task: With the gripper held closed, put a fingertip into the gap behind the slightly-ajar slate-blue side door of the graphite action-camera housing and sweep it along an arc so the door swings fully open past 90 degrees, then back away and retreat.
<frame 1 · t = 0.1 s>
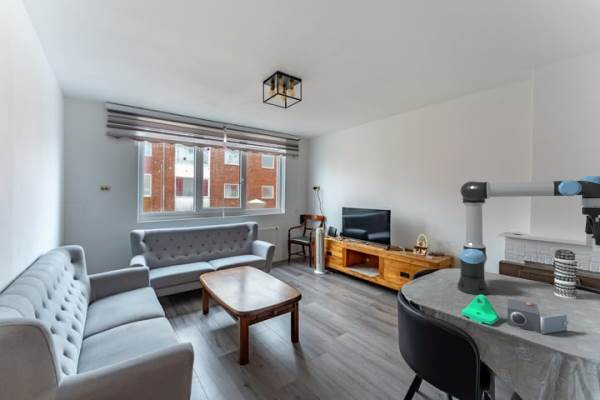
hand: (593, 249, 123), 28 cm above the table, fingers open, 13 cm apart
housing: (522, 322, 108), on the table
decorative candle: (565, 296, 135), on the table
side door: (554, 323, 100), point 4 cm above the table, hinge at 40.0°
camera mount: (479, 319, 113), on the table
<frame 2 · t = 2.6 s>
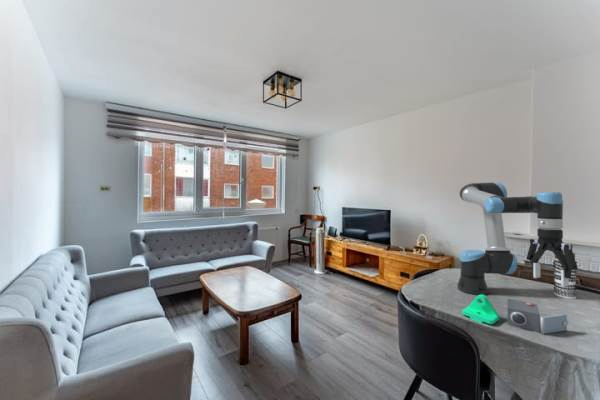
hand: (550, 281, 104), 20 cm above the table, fingers open, 9 cm apart
nothing on the table moved.
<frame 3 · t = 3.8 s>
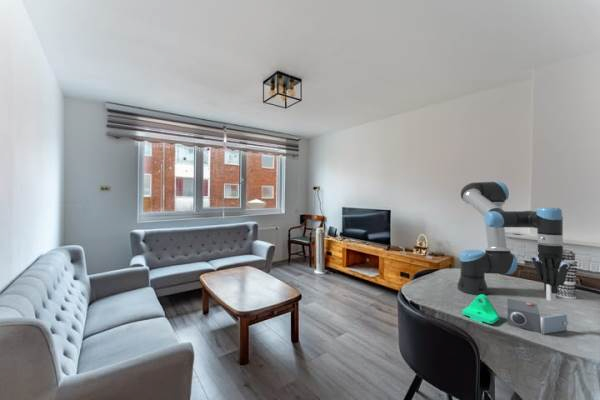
hand: (551, 299, 104), 12 cm above the table, fingers closed
nothing on the table moved.
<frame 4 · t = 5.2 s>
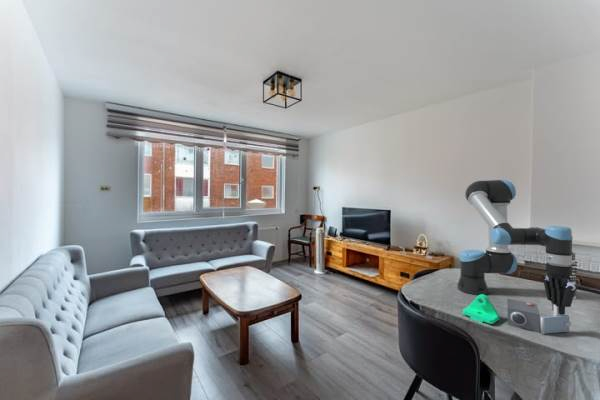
hand: (558, 320, 102), 4 cm above the table, fingers closed
side door: (555, 324, 100), point 4 cm above the table, hinge at 44.1°, touching gripper
everything else where it was.
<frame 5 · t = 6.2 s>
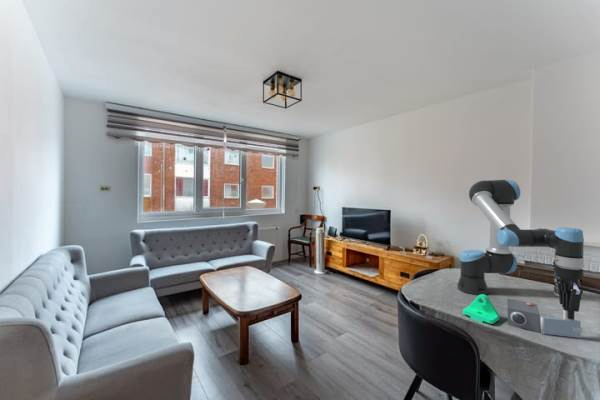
hand: (568, 325, 98), 4 cm above the table, fingers closed
side door: (560, 327, 98), point 4 cm above the table, hinge at 67.2°, touching gripper
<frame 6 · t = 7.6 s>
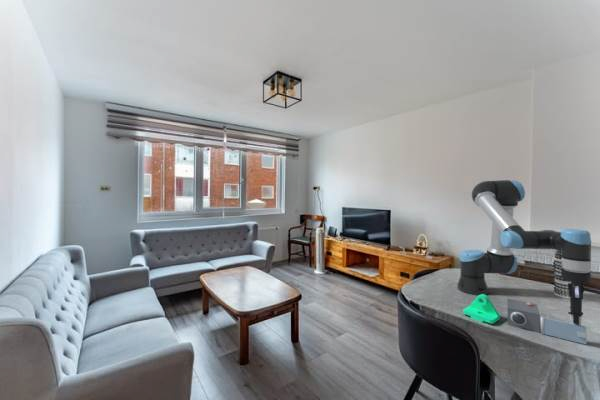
hand: (575, 331, 94), 4 cm above the table, fingers closed
side door: (562, 330, 96), point 4 cm above the table, hinge at 90.9°, touching gripper
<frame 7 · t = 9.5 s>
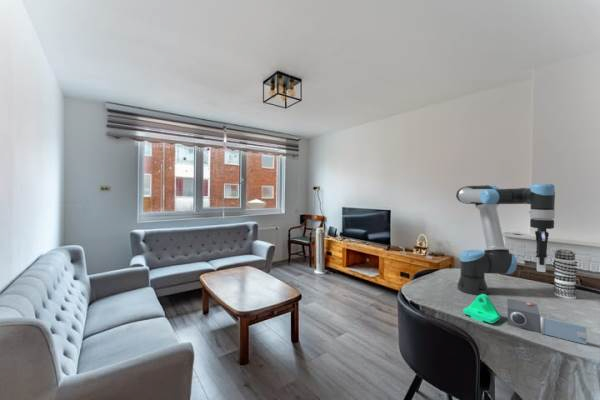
hand: (541, 271, 110), 22 cm above the table, fingers closed
side door: (562, 330, 96), point 4 cm above the table, hinge at 90.9°
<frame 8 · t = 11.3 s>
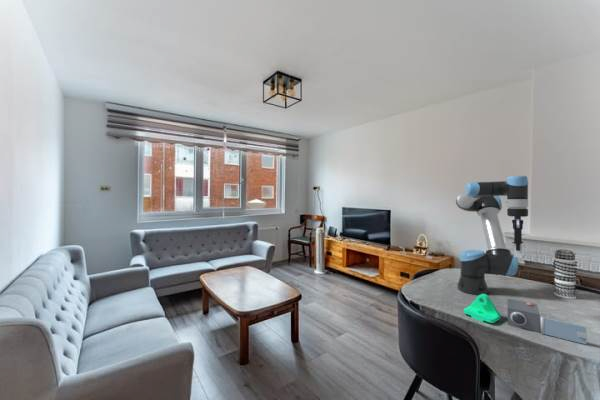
hand: (518, 256, 118), 26 cm above the table, fingers closed
at the end: side door at +91° (first picture: +40°) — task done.
